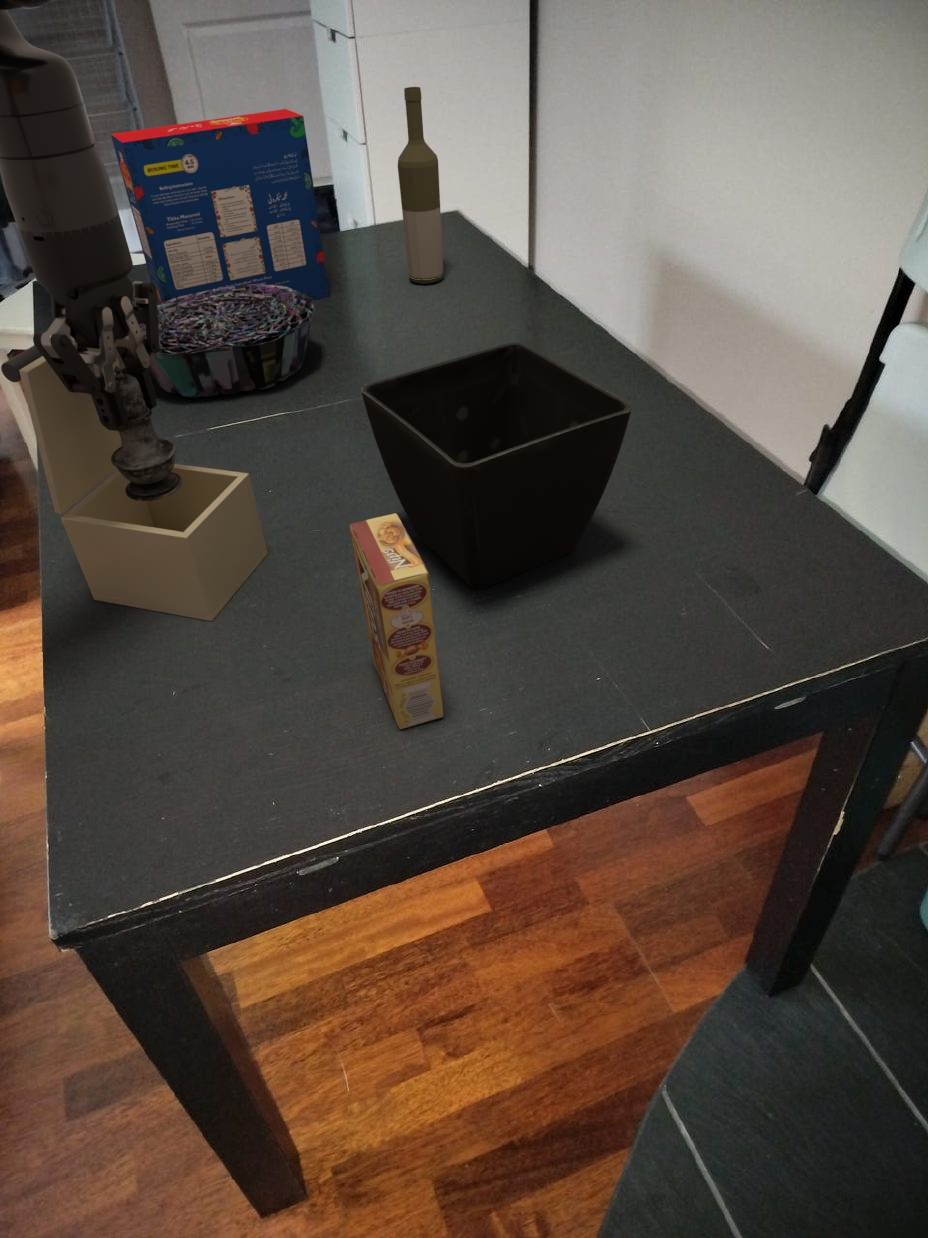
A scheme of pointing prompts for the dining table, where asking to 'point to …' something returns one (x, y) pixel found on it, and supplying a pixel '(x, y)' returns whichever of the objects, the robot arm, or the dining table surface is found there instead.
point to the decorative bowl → (230, 339)
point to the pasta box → (225, 204)
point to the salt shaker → (143, 448)
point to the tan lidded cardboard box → (169, 542)
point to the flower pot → (497, 456)
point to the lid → (64, 429)
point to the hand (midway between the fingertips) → (131, 417)
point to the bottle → (420, 197)
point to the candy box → (399, 618)
